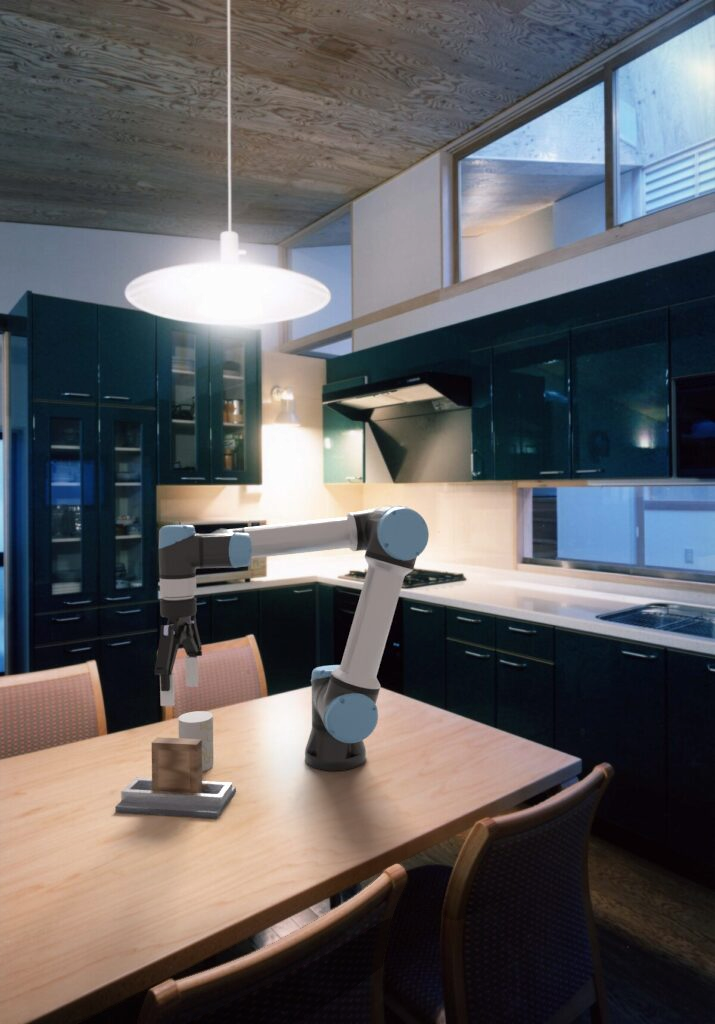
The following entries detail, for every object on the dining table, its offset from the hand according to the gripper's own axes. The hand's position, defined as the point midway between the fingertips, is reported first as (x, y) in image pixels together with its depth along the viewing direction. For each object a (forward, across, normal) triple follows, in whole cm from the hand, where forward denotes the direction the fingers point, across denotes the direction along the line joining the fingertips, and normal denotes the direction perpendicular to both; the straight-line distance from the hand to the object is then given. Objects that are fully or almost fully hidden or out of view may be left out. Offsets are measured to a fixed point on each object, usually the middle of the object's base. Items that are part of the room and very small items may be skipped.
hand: (180, 695), depth 140 cm
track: (+23, +1, -1) cm, 23 cm away
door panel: (+22, +1, -1) cm, 22 cm away
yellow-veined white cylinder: (+23, -17, -4) cm, 29 cm away
